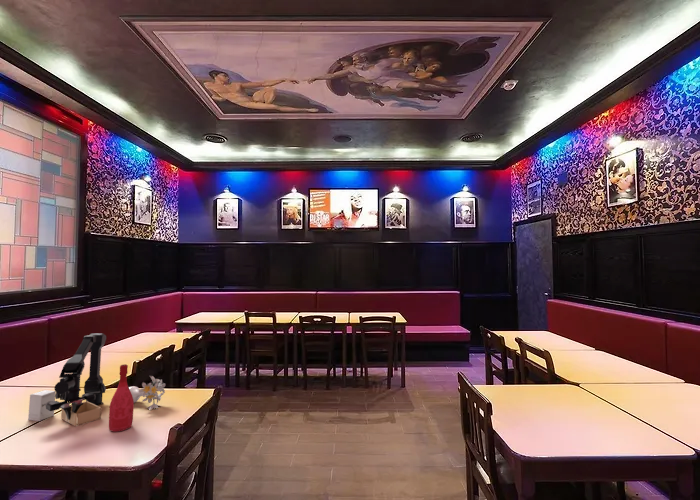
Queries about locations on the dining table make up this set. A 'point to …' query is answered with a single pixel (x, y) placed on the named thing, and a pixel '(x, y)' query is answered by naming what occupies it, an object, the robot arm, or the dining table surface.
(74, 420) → the flap
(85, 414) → the carton
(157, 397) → the flower vase
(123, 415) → the wine bottle
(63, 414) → the flap
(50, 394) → the supplement box
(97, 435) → the dining table surface
